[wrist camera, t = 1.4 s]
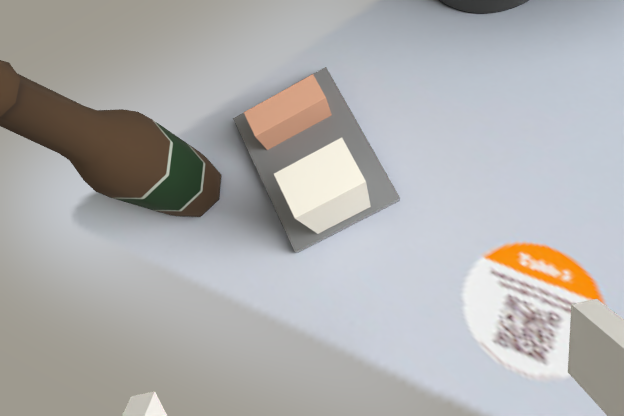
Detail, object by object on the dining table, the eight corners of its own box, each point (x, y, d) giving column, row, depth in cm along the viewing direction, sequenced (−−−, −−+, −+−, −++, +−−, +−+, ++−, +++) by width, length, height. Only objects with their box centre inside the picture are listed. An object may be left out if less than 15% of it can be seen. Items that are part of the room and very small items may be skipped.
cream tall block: (352, 173, 38) (342, 137, 28) (370, 206, 37) (366, 181, 27) (301, 199, 38) (273, 173, 29) (317, 233, 37) (294, 218, 28)
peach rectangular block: (319, 93, 40) (313, 74, 37) (331, 115, 40) (326, 97, 36) (256, 127, 41) (243, 112, 37) (267, 150, 40) (255, 136, 37)
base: (327, 74, 42) (325, 67, 41) (399, 201, 38) (399, 197, 37) (238, 123, 43) (233, 118, 42) (298, 252, 39) (294, 251, 38)
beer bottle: (157, 170, 44) (-90, 53, 21) (214, 146, 44) (22, -4, 20) (172, 230, 43) (-81, 173, 19) (232, 205, 42) (43, 115, 18)
